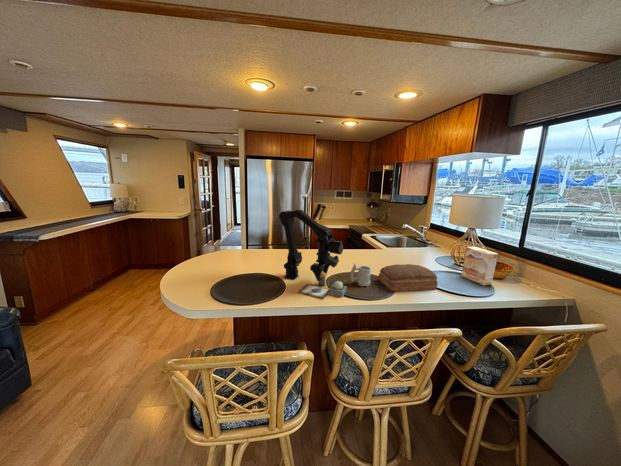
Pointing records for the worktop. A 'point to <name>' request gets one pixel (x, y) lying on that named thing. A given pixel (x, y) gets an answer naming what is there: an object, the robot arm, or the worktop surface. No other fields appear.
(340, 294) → the button collar
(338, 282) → the button
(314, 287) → the picture frame
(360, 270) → the mug
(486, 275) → the coffeecake box
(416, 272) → the bread
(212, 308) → the worktop surface
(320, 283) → the marker
